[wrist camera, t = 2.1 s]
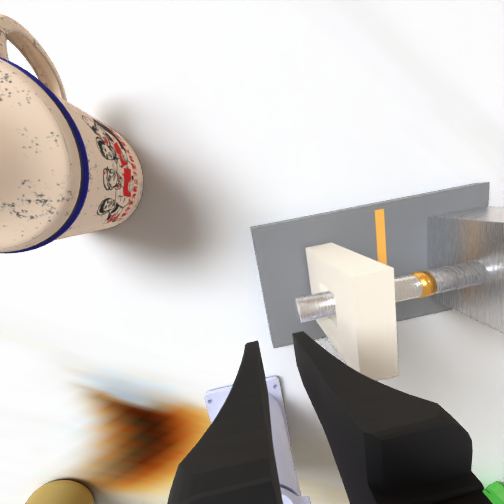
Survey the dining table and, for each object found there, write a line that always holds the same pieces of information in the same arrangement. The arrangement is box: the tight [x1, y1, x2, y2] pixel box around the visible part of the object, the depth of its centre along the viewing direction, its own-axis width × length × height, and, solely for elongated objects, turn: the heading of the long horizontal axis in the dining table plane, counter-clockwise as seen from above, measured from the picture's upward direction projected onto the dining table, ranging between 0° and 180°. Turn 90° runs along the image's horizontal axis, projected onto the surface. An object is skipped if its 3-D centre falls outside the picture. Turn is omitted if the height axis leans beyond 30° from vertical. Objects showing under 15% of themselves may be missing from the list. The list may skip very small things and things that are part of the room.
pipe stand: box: [294, 206, 504, 333], centre depth 17 cm, size 8×19×10 cm, turn 100°
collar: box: [305, 243, 399, 381], centre depth 17 cm, size 7×2×8 cm, turn 10°
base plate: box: [251, 182, 489, 348], centre depth 22 cm, size 12×22×1 cm, turn 100°
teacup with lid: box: [0, 14, 143, 253], centre depth 13 cm, size 12×9×12 cm
